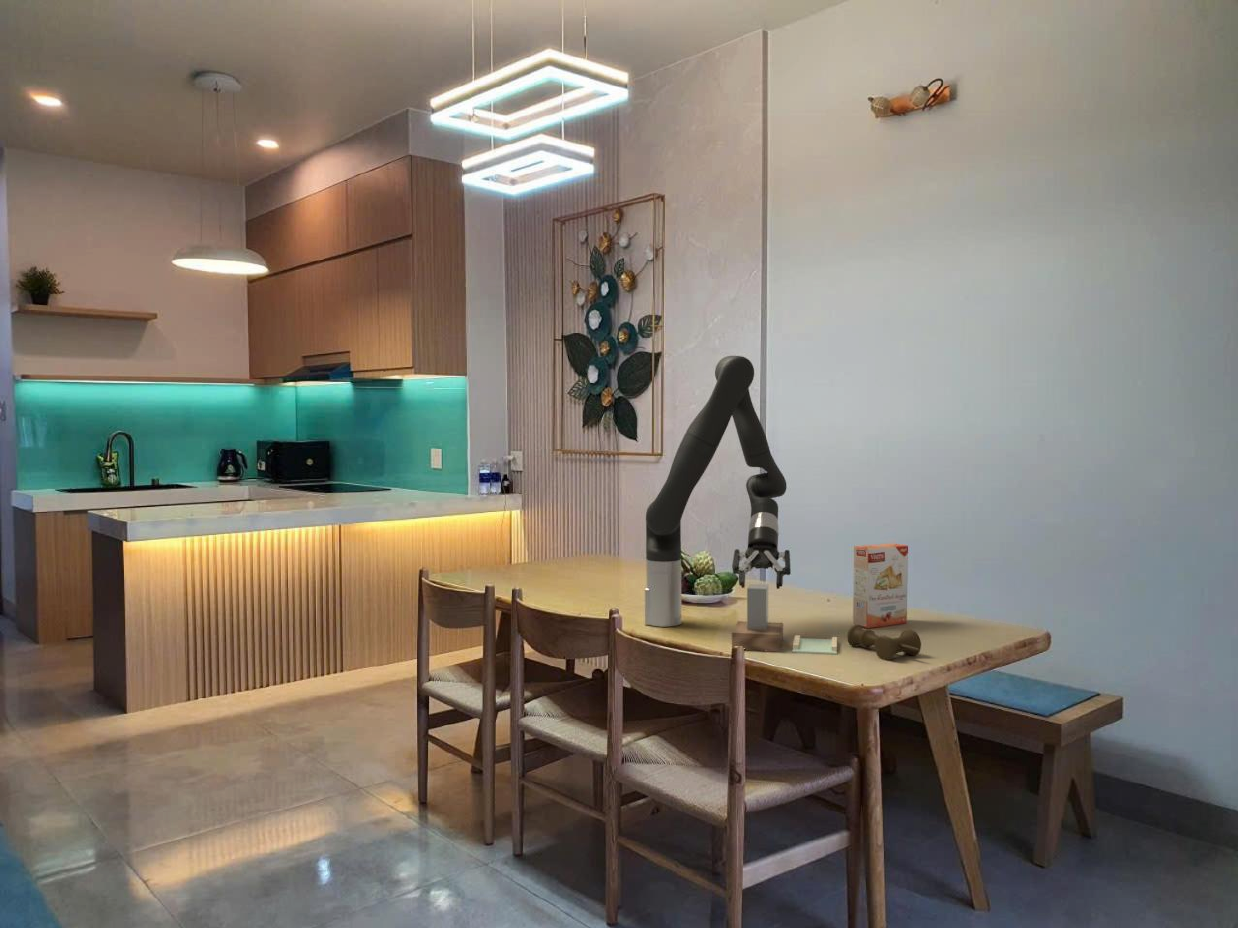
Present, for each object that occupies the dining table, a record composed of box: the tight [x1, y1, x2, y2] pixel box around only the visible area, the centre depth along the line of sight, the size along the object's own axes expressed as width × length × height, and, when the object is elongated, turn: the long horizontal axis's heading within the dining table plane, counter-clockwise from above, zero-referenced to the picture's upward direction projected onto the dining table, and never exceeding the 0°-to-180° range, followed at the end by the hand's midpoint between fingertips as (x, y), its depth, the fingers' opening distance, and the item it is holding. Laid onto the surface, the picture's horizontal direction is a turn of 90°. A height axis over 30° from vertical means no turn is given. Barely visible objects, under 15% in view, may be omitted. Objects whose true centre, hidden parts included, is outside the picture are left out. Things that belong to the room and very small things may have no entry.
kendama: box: [846, 625, 922, 661], centre depth 214 cm, size 6×10×20 cm
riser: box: [731, 620, 784, 652], centre depth 224 cm, size 11×13×4 cm
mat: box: [792, 634, 838, 655], centre depth 221 cm, size 10×13×1 cm
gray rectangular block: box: [746, 583, 769, 631], centre depth 224 cm, size 4×6×10 cm
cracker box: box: [852, 542, 909, 629], centre depth 245 cm, size 14×6×21 cm, turn 117°
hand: (760, 586), depth 228 cm, fingers open, 8 cm apart
